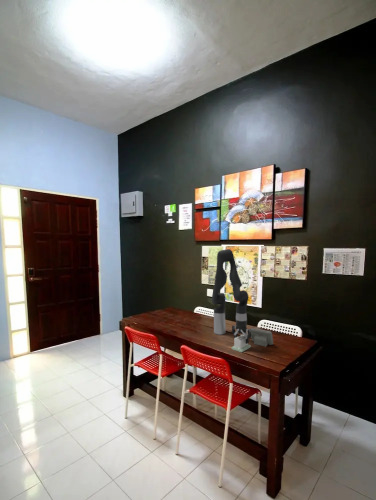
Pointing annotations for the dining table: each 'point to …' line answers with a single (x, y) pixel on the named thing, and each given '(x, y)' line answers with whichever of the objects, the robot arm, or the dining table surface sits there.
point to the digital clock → (261, 337)
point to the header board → (242, 348)
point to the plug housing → (240, 342)
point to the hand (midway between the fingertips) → (241, 341)
